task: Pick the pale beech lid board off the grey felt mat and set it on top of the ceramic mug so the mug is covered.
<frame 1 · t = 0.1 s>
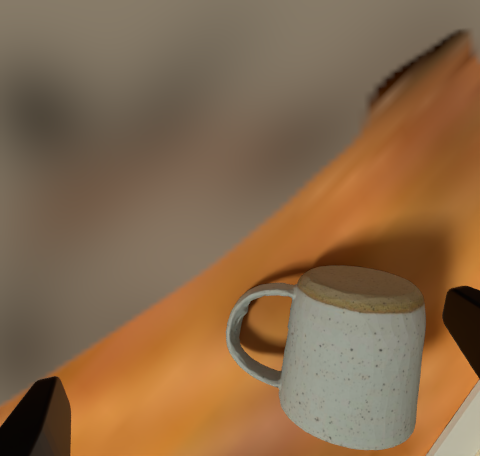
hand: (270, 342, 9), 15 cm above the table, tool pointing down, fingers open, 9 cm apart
ceramic mug: (304, 321, 28), on the table
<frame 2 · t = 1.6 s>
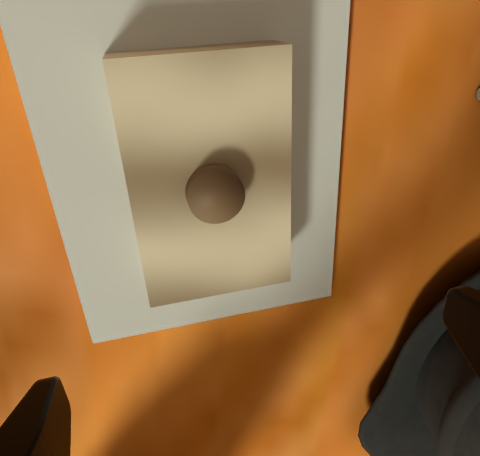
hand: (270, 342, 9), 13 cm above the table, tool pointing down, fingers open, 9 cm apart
mat: (202, 168, 20), on the table
lid: (204, 171, 20), resting on mat
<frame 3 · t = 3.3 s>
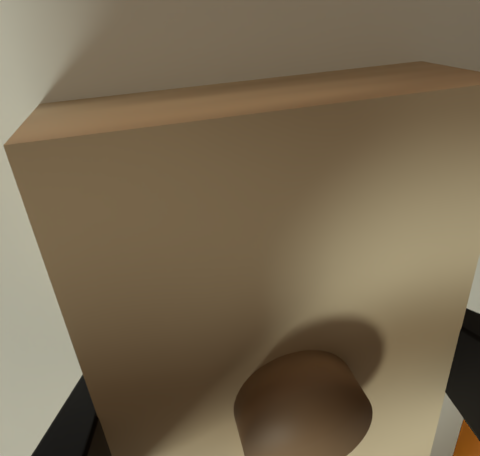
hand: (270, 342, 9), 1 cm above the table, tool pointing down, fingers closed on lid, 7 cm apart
mat: (254, 305, 11), on the table
lid: (259, 318, 10), resting on mat, touching gripper
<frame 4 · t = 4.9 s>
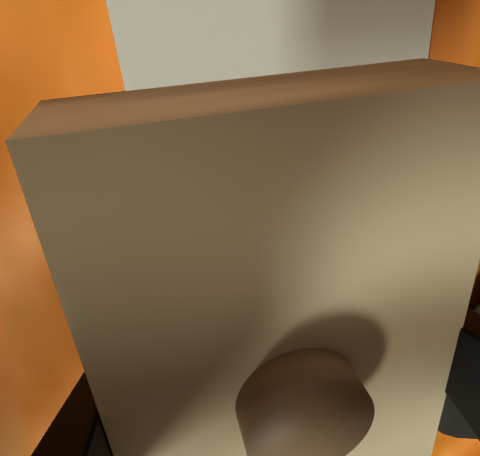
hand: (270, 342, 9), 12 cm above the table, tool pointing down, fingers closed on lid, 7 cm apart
mat: (285, 137, 20), on the table
lid: (261, 316, 10), point 11 cm above the table, touching gripper
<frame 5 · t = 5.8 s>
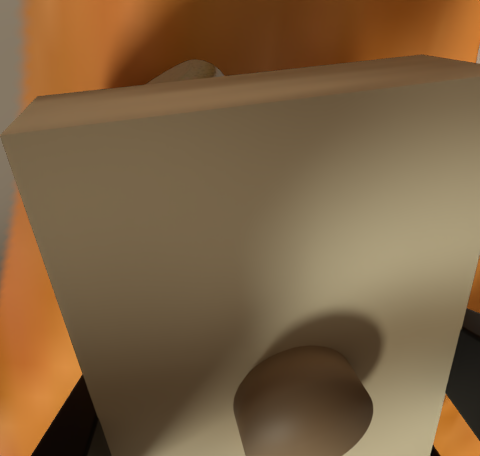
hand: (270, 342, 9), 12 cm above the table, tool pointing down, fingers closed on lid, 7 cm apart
lid: (259, 314, 10), point 12 cm above the table, touching gripper
ceramic mug: (161, 182, 20), on the table
when the fingers open (10 cm above the table, at t = 6.6 s): lid drops 2 cm, resting on ceramic mug.
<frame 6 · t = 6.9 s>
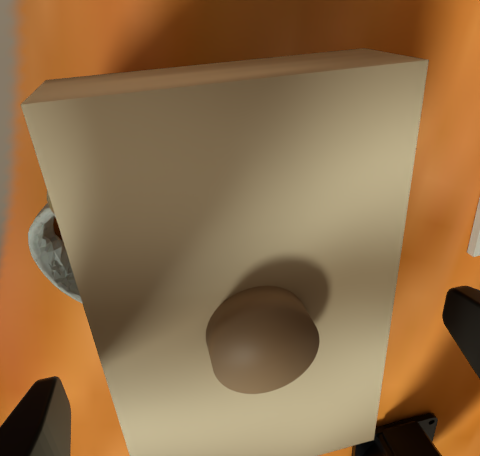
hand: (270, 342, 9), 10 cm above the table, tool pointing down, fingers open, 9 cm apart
lid: (233, 271, 12), point 8 cm above the table, touching ceramic mug
ceramic mug: (161, 200, 19), on the table, touching lid
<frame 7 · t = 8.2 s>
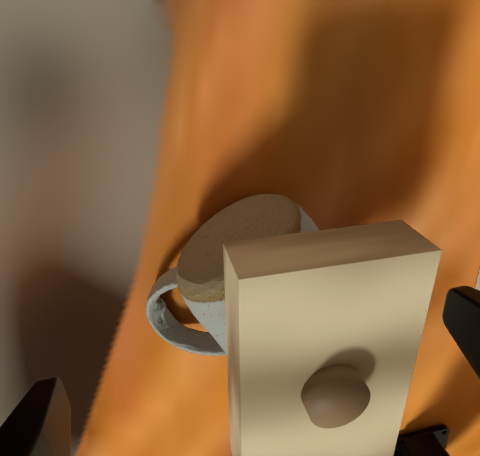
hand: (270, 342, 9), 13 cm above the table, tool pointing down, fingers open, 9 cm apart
lid: (307, 344, 18), point 8 cm above the table, touching ceramic mug
ceramic mug: (235, 269, 25), on the table, touching lid
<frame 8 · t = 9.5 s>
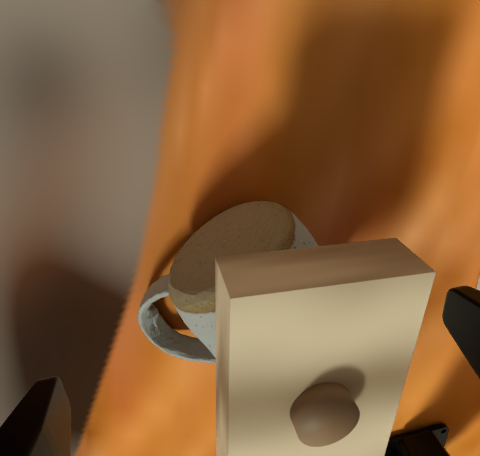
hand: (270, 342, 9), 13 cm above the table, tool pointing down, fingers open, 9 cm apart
lid: (297, 359, 18), point 8 cm above the table, touching ceramic mug
ceramic mug: (228, 275, 25), on the table, touching lid
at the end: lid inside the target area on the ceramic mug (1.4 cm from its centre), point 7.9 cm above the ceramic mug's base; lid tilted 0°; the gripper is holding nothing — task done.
